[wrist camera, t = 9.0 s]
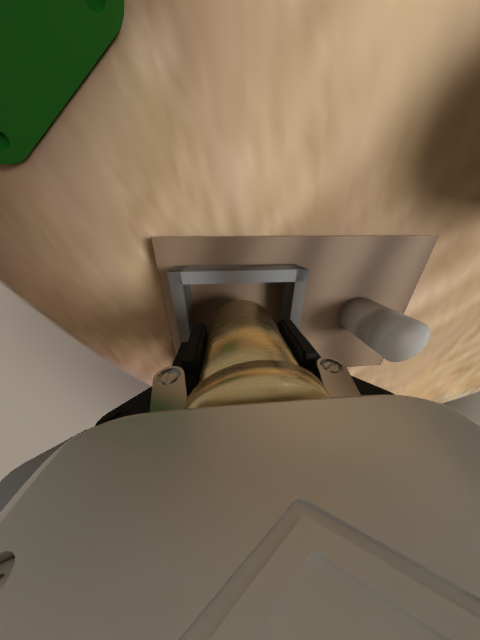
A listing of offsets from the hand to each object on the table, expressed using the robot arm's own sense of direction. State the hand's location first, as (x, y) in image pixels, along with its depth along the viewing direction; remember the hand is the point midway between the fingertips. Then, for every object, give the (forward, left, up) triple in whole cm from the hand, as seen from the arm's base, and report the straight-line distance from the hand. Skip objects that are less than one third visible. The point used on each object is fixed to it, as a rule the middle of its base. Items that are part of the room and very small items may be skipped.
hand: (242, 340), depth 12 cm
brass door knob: (0, 0, -1) cm, 1 cm away
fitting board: (-5, 0, -5) cm, 7 cm away
